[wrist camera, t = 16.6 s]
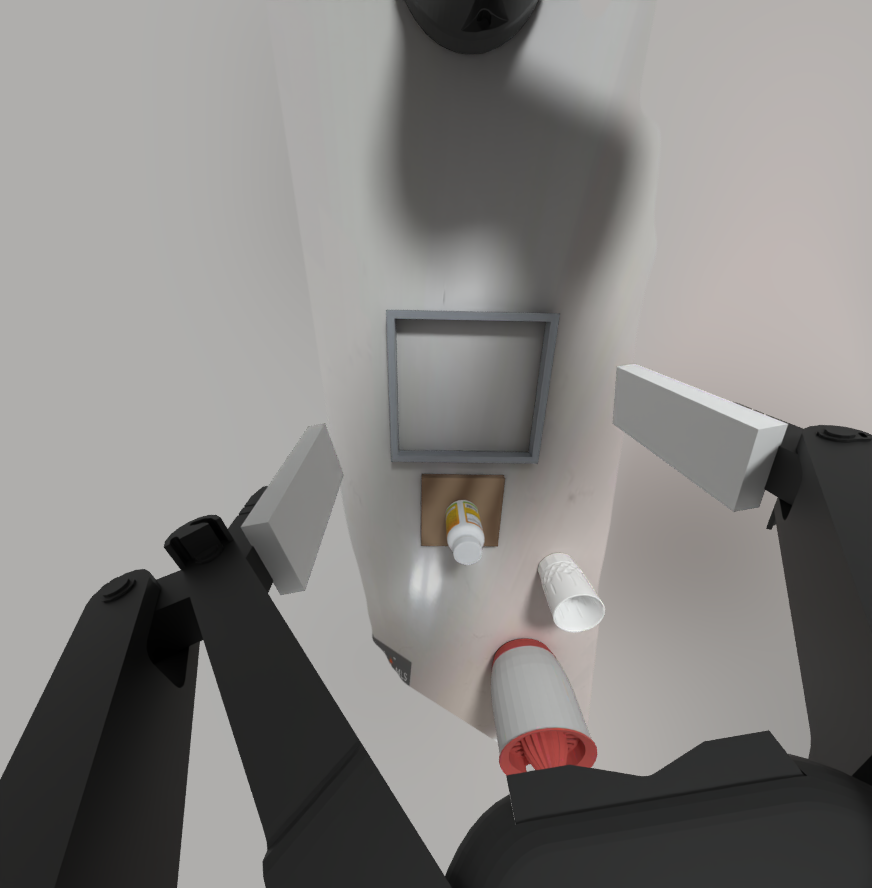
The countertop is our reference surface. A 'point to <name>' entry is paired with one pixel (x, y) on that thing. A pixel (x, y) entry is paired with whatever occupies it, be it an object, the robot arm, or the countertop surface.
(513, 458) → the tray frame
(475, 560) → the supplement bottle
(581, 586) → the white cup
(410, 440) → the countertop surface
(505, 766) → the citrus juicer
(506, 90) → the countertop surface
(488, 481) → the walnut board
